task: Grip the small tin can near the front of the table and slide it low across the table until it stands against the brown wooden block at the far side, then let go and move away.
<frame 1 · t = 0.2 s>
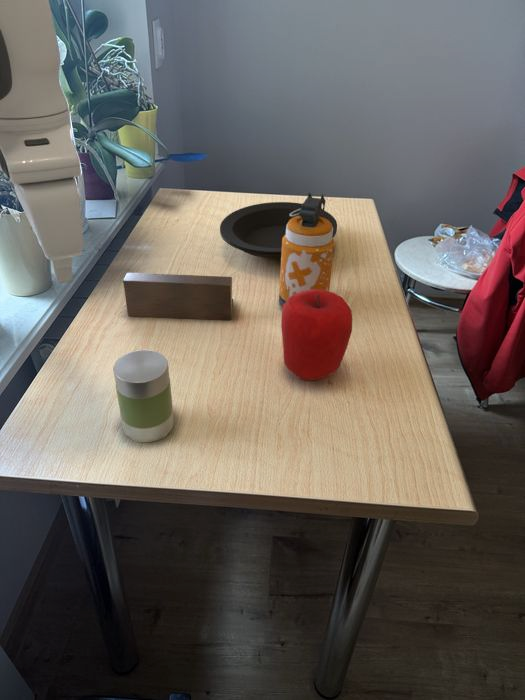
hand: (55, 262, 62), 21 cm above the table, tool pointing down, fingers open, 8 cm apart
brown wooden block: (180, 313, 94), on the table
plate: (278, 249, 117), on the table
apple: (311, 371, 82), on the table
can: (148, 424, 71), on the table
canister: (304, 303, 98), on the table
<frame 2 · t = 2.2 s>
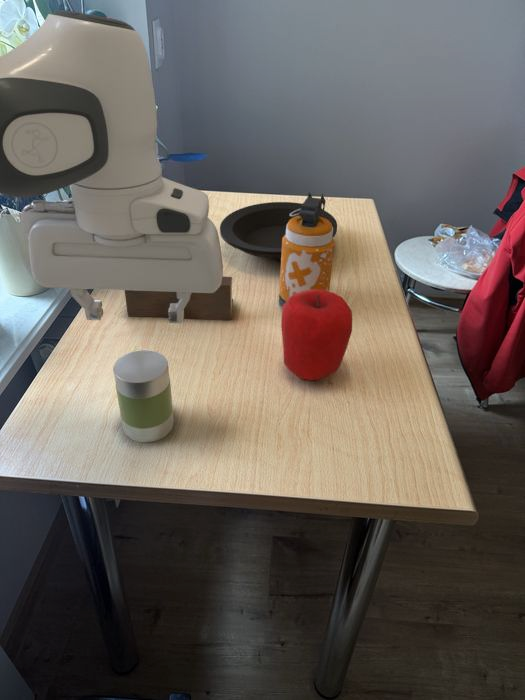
hand: (136, 319, 61), 17 cm above the table, tool pointing down, fingers open, 8 cm apart
nothing on the table moved.
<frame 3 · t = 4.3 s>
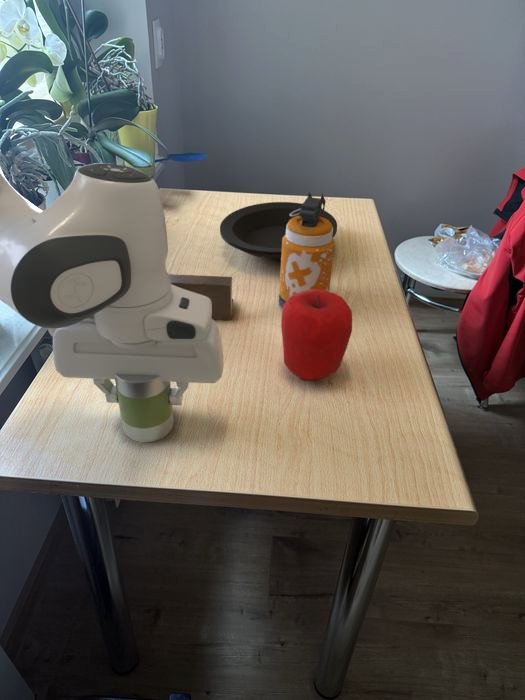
hand: (145, 401, 68), 4 cm above the table, tool pointing down, fingers closed on can, 7 cm apart
can: (148, 424, 71), on the table, touching gripper
everything else where it was.
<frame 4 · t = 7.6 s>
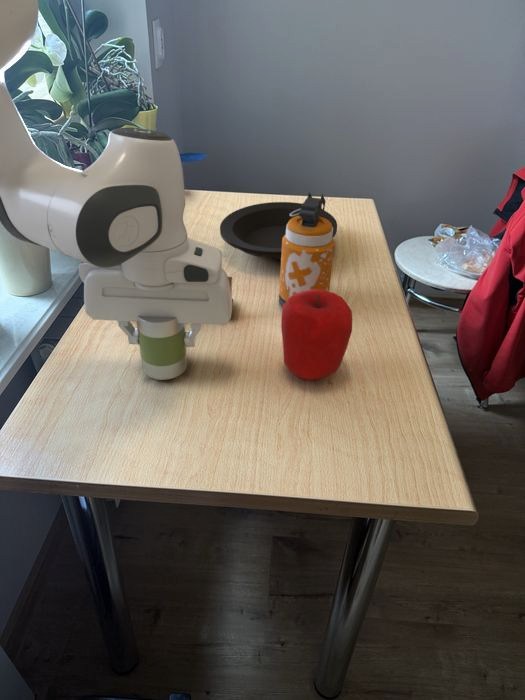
hand: (163, 343, 78), 5 cm above the table, tool pointing down, fingers closed on can, 7 cm apart
can: (165, 366, 80), point 1 cm above the table, touching gripper
everything else where it was.
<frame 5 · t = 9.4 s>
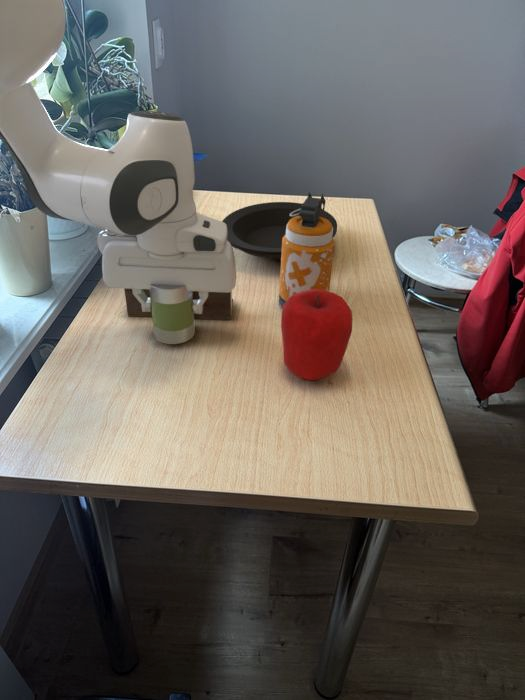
hand: (173, 311, 85), 5 cm above the table, tool pointing down, fingers closed on can, 7 cm apart
can: (174, 332, 88), point 1 cm above the table, touching gripper
everything else where it was.
when the fingers open (4 cm above the table, at t = 11.0 s): can stays where it is, on the table.
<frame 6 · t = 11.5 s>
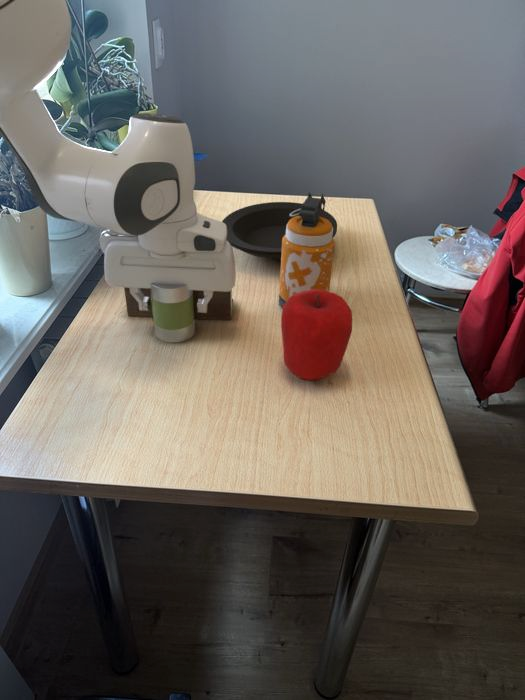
hand: (173, 309, 87), 4 cm above the table, tool pointing down, fingers open, 8 cm apart
can: (175, 331, 89), on the table
everything else where it was.
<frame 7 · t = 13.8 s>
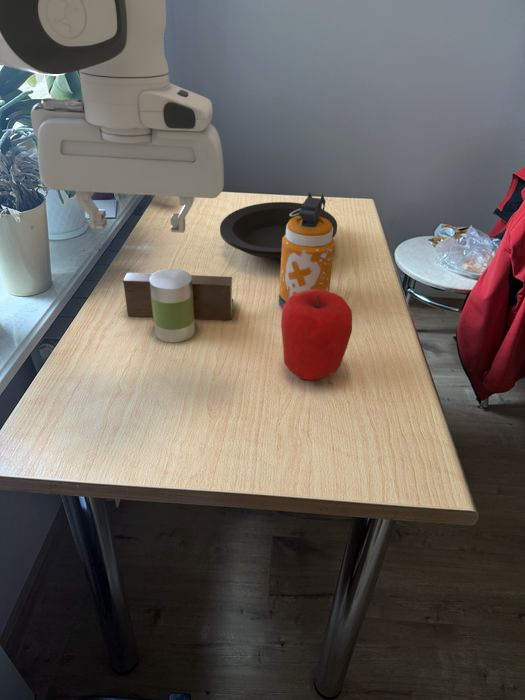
hand: (138, 228, 63), 24 cm above the table, tool pointing down, fingers open, 8 cm apart
nothing on the table moved.
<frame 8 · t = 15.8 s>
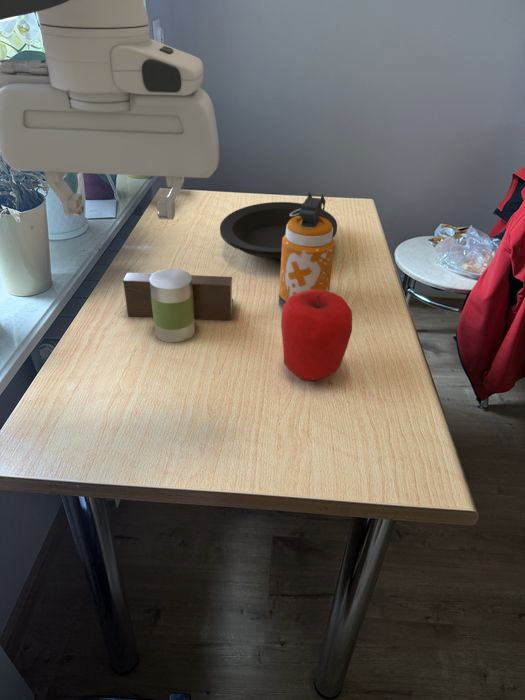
hand: (120, 215, 54), 29 cm above the table, tool pointing down, fingers open, 8 cm apart
nothing on the table moved.
at the end: can inside the target area on the table beside the brown wooden block (1.5 cm from its centre), on the table; can tilted 0° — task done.
